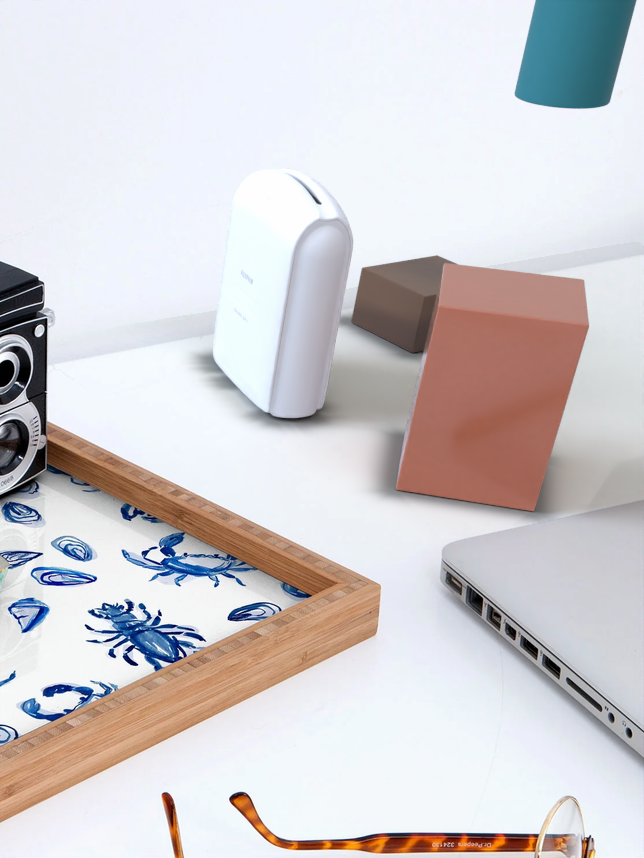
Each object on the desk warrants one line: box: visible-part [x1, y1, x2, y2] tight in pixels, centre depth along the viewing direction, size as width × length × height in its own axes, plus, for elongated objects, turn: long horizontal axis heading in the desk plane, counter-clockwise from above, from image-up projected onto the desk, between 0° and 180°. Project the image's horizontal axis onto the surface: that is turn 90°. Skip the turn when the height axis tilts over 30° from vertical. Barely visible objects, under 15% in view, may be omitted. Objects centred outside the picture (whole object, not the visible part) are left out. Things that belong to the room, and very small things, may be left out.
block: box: [350, 254, 460, 354], centre depth 96 cm, size 6×6×4 cm
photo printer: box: [212, 167, 354, 419], centre depth 85 cm, size 10×4×12 cm, turn 11°
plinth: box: [395, 263, 590, 512], centre depth 76 cm, size 7×7×10 cm
